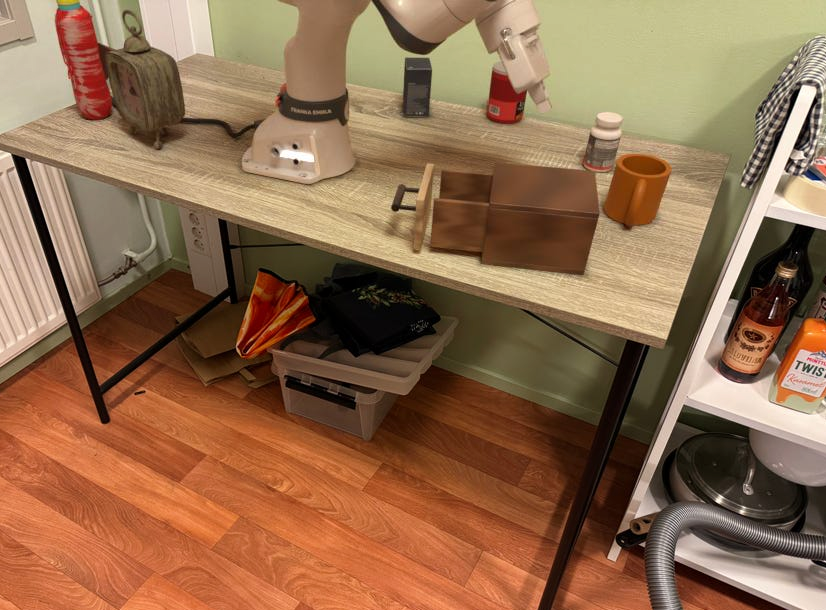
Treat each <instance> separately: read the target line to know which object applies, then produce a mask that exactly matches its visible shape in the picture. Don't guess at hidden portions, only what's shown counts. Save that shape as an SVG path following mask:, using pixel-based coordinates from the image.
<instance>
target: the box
mask: <svg viewBox="0 0 826 610" xmlns="http://www.w3.org/2000/svg"><path fill="white" fill-rule="evenodd" d="M432 78H433V67H432V62H431V58H430V57H407V56H406V57H405V58H404V70H403V88H402V89H403V90H402V109H403V116H404V117H405V118H429V116H430V104H431V91H432Z"/></svg>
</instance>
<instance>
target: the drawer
mask: <svg viewBox="0 0 826 610" xmlns="http://www.w3.org/2000/svg"><path fill="white" fill-rule="evenodd" d="M434 171H435V164H434V163H426V165H425V170H424V172H423V176H422V180H421V182H420V186H419V188H417V187H407V186H406V185H405V184H403V183H401V184H398V186H397V188H396V191H395V194H394V197H393V200H392V203H391V206H390V210H391V211H392V212H394V213H398V212H399V211H400V210H401V211H411V212H415V213H414V214H415V218H414V231H413V232H414V233H413V250H414V251H415V250H417V251H421V250H422V248H423V247H422V246H423V243H424V239H425V235H426V231H427V227H428V223H429V220H430V215H431V212H432V217H431V218H432V219H431V229H430V242H429V243H430V244H429V247H432V248H442V249H451V250H459V251H467V252H468V251H469V252H477V253H483V247H484V240H485V233H486V225H487V218H488V211H489V204H490V196H491V188H492V181H493V173H494V172H487V171H485V172H484V171H475V170H465V169H464V170H462V169H452V168H441V171H440V183H439V195H438V197H434V198H433V184H434ZM406 193H414V194H417V196H416V200H415V205H407V204H402V203H403V200H404V197H405V194H406ZM432 198H433V205H432ZM432 206H433V207H432ZM431 208H432V209H431Z"/></svg>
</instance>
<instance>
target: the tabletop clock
mask: <svg viewBox="0 0 826 610" xmlns="http://www.w3.org/2000/svg"><path fill="white" fill-rule="evenodd" d="M127 14H128V15H129V16H132V17H133V18H134V19H135V21H136V22H137V24H138V26H139V27H138V28H139V30H138V31H137V27H136V26H135V25H132V26H129V25H128V24H127V22H126V15H127ZM121 17H122V18H121V19H122V23H123V25H124V27H125V28H126V30H127V31H128V32H129V33H130V34H131V35H130V36H128V37H126V38H125V40H124V41H123V47H122V48H119V49H115V50H114V51H110V52H106V53H105V61H106V68H107V72H108V77H109V78H108V81H109V86H110V89H111V93H112V97H113V99H114V101H115V104H116V107H117V108H116V107H115V108H116V109H117V112H118V115H119V116H120V117H121V118H122V120H123V121H125V122H126V123H127V124H128V125H130V126H129V127H128V132H129V133H130V134H132V135H133V134H136V133H137V131H140V132H143V133H144V134H145V133H150V132H153V131H154V133H155V141H154V143H153V147H154V148H155V149H157V150H161V149H162V148H163V144H162V142H161V141H160V134H161V135H162V136H167V135H168V134H169V129H168V128H167V127H168V126H171V125H172V126H173V125H175V124H178V123H181V122H180V121H181V120H182V118H185V116H186V104H185V98H184V91H183V86H182V80H181V75H180V69H179V67H178V64H177V61H176V59H175V58H174V57H173V56H172V55H170V54H169V53H167V52H165V51H163V50H162V49H158V48H157V47H153V46H151V45H150V42H149V41H148V40H147V38H145V36H143V35H142V33H143V26H142V22H141V20H140V18H139V16H138V15H137V14H136V13H135V12H133V11H132V10H130V9H124V10H123V11H122V14H121Z"/></svg>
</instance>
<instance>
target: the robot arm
mask: <svg viewBox="0 0 826 610" xmlns="http://www.w3.org/2000/svg"><path fill="white" fill-rule="evenodd" d="M277 1H278V2H280V3H283V4H286V5H289V6H292V7H295V8H297V10H298V20H297V21H298V22H297V27H296V31H295V34H294V35H293V36H292V37H291V38H289V40H288V41H287V42H286V43H285V45H284V49H283V58H284V73H285V83H283V84H282V86H281V87H280V89H279V92H278V93H277V95H276V99H275V101H274V102H275V107H276V108H277V110H275V111H274V112H273V113H272V114H271V115H269V116H268V117H266V118H263V119H258V120H253V122H252V123H251V124H248V125H246V126H244V127H243V128H242V129H240V130H239V131H238V132H234V131H233V128H232V127H231V125H230V124H229V123H228V122H227V121H225V120H222V119H217V118H201V117H200V118H198V117H197V118H196V117H183V118H182V120H181V121H180V122H179V123H188V124H189V123H192V124H215V125H220V126H223V127H225V129H226V130H227V132H228V134H229V135H230V136H231V137H232V138H240V137H242V136H243V135H245V134H246V133H247V132H248V131H250V130H254V131H253V132H254V134H253V136H252V141H251V145H250V146H249V147H248V148H247V150H246V151H245V152H244V153H243V155H242V158H241V169H242V171H243V172H246V173H250V174H255V175H259V176H264V177H268V178H269V177H270V178H274V179H280V180H284V181H291V182H293V183H300V184H304V185H305V184H306V185H312V184H315V183H318V182H319V181H320V182H321V181H322V180H325V179H331V178H335V177H339V176H341V175H343V174H345V173H347V172H349V171H350V170H352V169H353V168H354V166H355V165H356V157H355V155H354V152H353V147H352V143H351V137H350V131H349V120H350V98H349V89H348V88H347V50H348V49H347V48H348V43H349V39H350V34H351V31H352V28H353V26H354V24H355V22H356V21H357V19H358V18H359V16H361V15H362V14H363V13H364V12H365V11H366V10H367V8H368V7H369V6H370V4H371V2H372V4H373V5H374V7H375V8H376V10H377V11H378V12H379V14H380V16H381V19H382V20H383V22H384V24H385V26H386V28H387V30H388V32H389V34H390V36H391V38H392V39H393V41H394V42H395V43H396V45H397V46H398V47H399V48H400V49H401V50H403V51H406V52H408V53H411V54H414V55H418V56H427V55H430V54H431V53H432V52H434V51H435V50H436V49H437V48H438V47H440V45H442V44H443V43H445V41H446V40H447V39H449V38H450V37H451V36H452V35H454V34H456V33H457V32H459V31H460V30H462V29H463V28H465V27H466V26H468V25H469V24H470V23H472V22H473V21H474V24H475V27H476V29H477V31H478V33H479V35H480V37H481V40H482V42H483V44H484V47H485V49H486V51H487V53H488V55H492V54H494V53H497V55H498V57H499V59H500V60H501V61H502V63H503V66H504V68H505V71H506V73H507V75H508V78H509V80H510V82H511V85H512V87H513V89H514V90H515V92H516V93H517V94H519V93H521V92H523V91H525V90H527V94H528V95H529V97H530V98H531V100H532V101H533V103H534V105H535V106H536V108H537V110H538V113H539V114H540V115H544V114H546V113H548V112H549V111H551V110H552V109H553V104H552V102H551V100H550V97H549V94H548V89H547V86H546V84H545V81H544V80H545V79H547V78H548V77H550V75H551V72H550V71H551V70H550V67H549V63H548V60H547V56H546V54H545V50H544V46H543V44H542V41H541V38H540V36H539V33H538V30H539V29H540V26H541V25H542V20H541V18H540V16H539V14H538V11H537V9H536V7H535V5H534V2H533V0H277ZM111 99H112V106H113V107H115V108H116V109H117V107H116V104H115V101H114V97H113V95H111Z"/></svg>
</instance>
